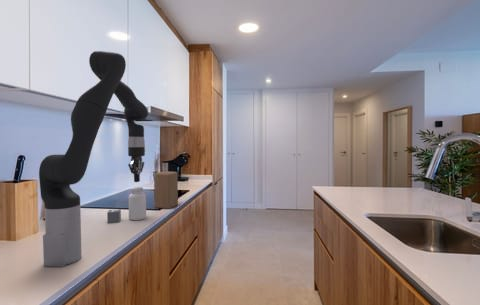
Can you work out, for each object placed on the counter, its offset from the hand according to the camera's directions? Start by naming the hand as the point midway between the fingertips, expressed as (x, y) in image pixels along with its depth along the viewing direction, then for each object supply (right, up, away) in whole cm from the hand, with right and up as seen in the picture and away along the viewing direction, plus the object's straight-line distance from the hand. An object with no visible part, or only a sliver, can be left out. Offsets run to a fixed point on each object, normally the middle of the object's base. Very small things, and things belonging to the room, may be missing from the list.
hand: (136, 181), depth 127 cm
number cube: (-9, -18, -4) cm, 21 cm away
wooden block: (+8, -17, +24) cm, 31 cm away
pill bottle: (0, -18, +1) cm, 18 cm away
